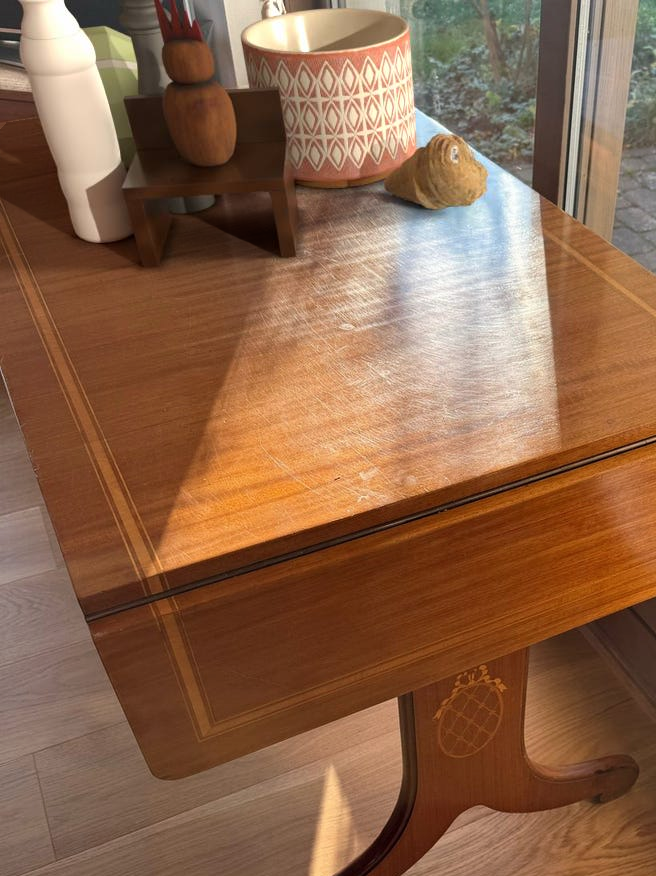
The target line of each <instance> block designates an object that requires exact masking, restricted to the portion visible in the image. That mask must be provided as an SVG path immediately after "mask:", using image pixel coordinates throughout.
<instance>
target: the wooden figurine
mask: <svg viewBox="0 0 656 876" xmlns="http://www.w3.org/2000/svg"><path fill="white" fill-rule="evenodd" d="M154 3H155V8H156V12H157V17H158V21H159V26H160V30H161V34H162V38H163V42H164V45H163V47H162V61H163V65H164V68H165V71H166V74H167V75H168V77H169V78H170V79H171V80H172V82H171V83H169V84H168V85H167V87H166V89H165V91H164V94H163V110H164V115H165V119H166V123H167V127H168V129H169V132H170V135H171V137H172V140H173V142H174V144H175V145H176V147H177V149H178V151H179V153H180V154H181V156H182V157H183V158H184V160H186V161H187V162H188V163H190V164H193V165H197V166H200V167H212V166H217V165H220V164H224V163H226V162H227V161H228V160H229V159H230V157H231V156H232V154H233V151H234V147H235V141H236V120H235V114H234V109H233V106H232V102H231V99H230V98H229V96H228V94H227V92H226V91H225V90H226V89H225V88H224V87H222V85H221V84H219V82H218V81H215V80H212V78H213V76H214V74H215V70H216V69H215V68H216V66H215V59H214V55H213V52H212V50H211V48H210V45H209V44H208V43H207V42H206V41H205V38H204V36H203V33H202V30H201V28H200V27H201V26H200V25H199V23H198V20H197V19H196V18H195V19H193V20H192V25H191V21H190V18H189V15H188V12H187V10H185V9H184V10H183V11H182V20H181V17H180V14H179V11H178V8H177V5H176V2H175V0H169V6H170V8H169V9H170V14H171V21H169V19H168V17H167V15H166V13H165V11H164V9H165V8H164V6H163V4H162V3H161V2H160V0H154ZM163 8H164V9H163Z"/></svg>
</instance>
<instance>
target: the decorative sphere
mask: <svg viewBox="0 0 656 876" xmlns="http://www.w3.org/2000/svg"><path fill="white" fill-rule="evenodd" d="M81 29H82V30H83V32H84V33H85V34H86V36H87V37H88V38H89V40H90V41H91V43H92V45H93V48H94V51H95V55H96V62H95V64H96V66H97V69H98V72H99V75H100V78H101V80H102V84H103V87H104V90H105V93H106V97H107V100H108V104H109V107H110V111H111V115H112V119H113V123H114V127H115V131H116V135H117V140H118V145H119V150H120V156H121V160H122V162H123V164H124V166H125V169H126V172H127V174H128V171H129V169H130V166H131V164H132V161H133V159H134V156H135V153H136V151H137V150H136V147H135V143H134V139H133V135H132V131H131V128H130V124H129V120H128V116H127V112H126V108H125V104H124V100H123V99H124V97H125V96H130V95H138V74H137V61H136V57H135V53H134V49H133V45H132V41H131V37H130V35H126V34H124V33H122V32H119V31H118V30H115V29H113V28H111V27H108V26H107V25H101V26H91V27H83V28H82V27H81Z"/></svg>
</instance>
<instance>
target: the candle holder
mask: <svg viewBox="0 0 656 876" xmlns="http://www.w3.org/2000/svg"><path fill="white" fill-rule="evenodd" d="M163 1H164V0H160V2H161V4H162V3H163ZM118 2H119V4H120V6H121V7H123V12H122V13H121V14H120V16H119V18H118V19H119V23H120V24H121V25H120V26H122V27H123V28H124V29H126V31H127V33H129V37H131V41H132V45H133V49H134V53H135V57H136V61H137V74H138V95H146V94H163V93H164V91H165V89H166V87H167V85H168V84H169V83H171V82H172V80H171V79H170V78H169V77H168V75H167V74H166V71H165V68H164V65H163V61H162V47H163V45H164V42H163V38H162V34H161V30H160V26H159V21H158V17H157V12H156V8H155V3H154V0H118ZM163 9H164V11H165V13H166V15H167V17H168V19H169V21H170V22H171V12H170V11H168V9H166V8H164V7H163ZM215 201H216V199H215V195H203V196H188V197H173V198H166V202H167V206H168V210H169V213H171V214H172V213H173V214H190V213H195V212H201V211H203V210H205V209H208V208H210V207H211V206H213V205H214V203H215Z"/></svg>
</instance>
